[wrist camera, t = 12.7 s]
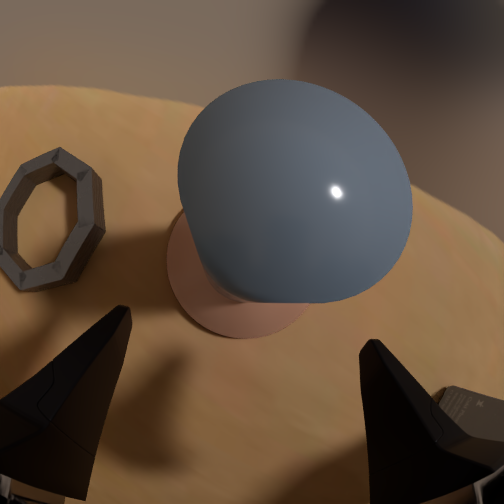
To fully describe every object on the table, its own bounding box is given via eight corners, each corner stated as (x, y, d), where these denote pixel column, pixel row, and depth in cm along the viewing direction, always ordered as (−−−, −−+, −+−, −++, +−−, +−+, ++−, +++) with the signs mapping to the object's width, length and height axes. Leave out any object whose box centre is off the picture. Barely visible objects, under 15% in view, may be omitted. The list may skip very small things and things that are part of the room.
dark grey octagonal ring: (59, 315, 15) (45, 316, 13) (-6, 244, 15) (-20, 239, 13) (129, 197, 17) (120, 185, 15) (52, 147, 17) (42, 135, 15)
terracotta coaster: (273, 364, 17) (274, 365, 16) (139, 283, 16) (137, 283, 16) (341, 236, 19) (344, 234, 18) (221, 162, 19) (221, 158, 18)
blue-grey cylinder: (232, 319, 16) (274, 360, 5) (186, 244, 17) (137, 130, 5) (303, 272, 17) (442, 221, 6) (259, 202, 18) (324, 63, 6)
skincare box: (447, 383, 18) (584, 406, 3) (471, 405, 18) (580, 427, 3) (396, 459, 16) (516, 529, 1) (429, 471, 16) (527, 521, 1)
